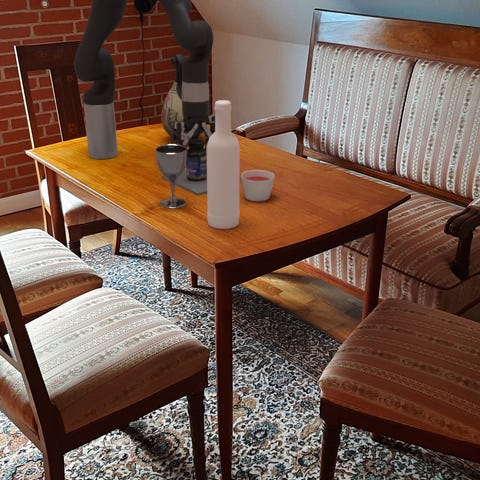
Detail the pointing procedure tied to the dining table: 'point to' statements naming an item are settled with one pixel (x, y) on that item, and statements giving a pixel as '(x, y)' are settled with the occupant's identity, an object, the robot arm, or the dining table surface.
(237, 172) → the bottle
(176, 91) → the ceramic jug
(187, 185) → the place mat
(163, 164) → the wine glass
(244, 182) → the candle
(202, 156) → the pill bottle
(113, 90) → the robot arm
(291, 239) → the dining table surface
